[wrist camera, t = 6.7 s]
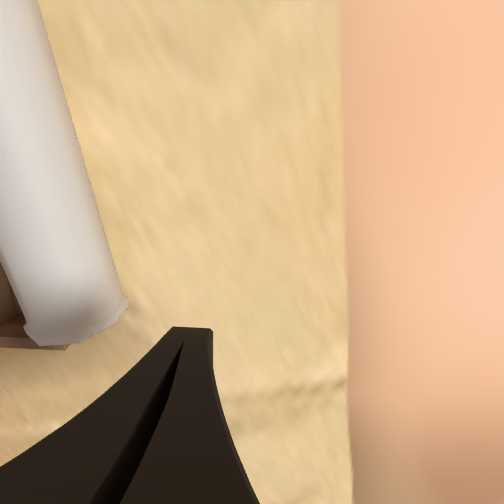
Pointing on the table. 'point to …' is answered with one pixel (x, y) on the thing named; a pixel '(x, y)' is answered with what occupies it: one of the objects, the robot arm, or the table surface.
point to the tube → (48, 195)
